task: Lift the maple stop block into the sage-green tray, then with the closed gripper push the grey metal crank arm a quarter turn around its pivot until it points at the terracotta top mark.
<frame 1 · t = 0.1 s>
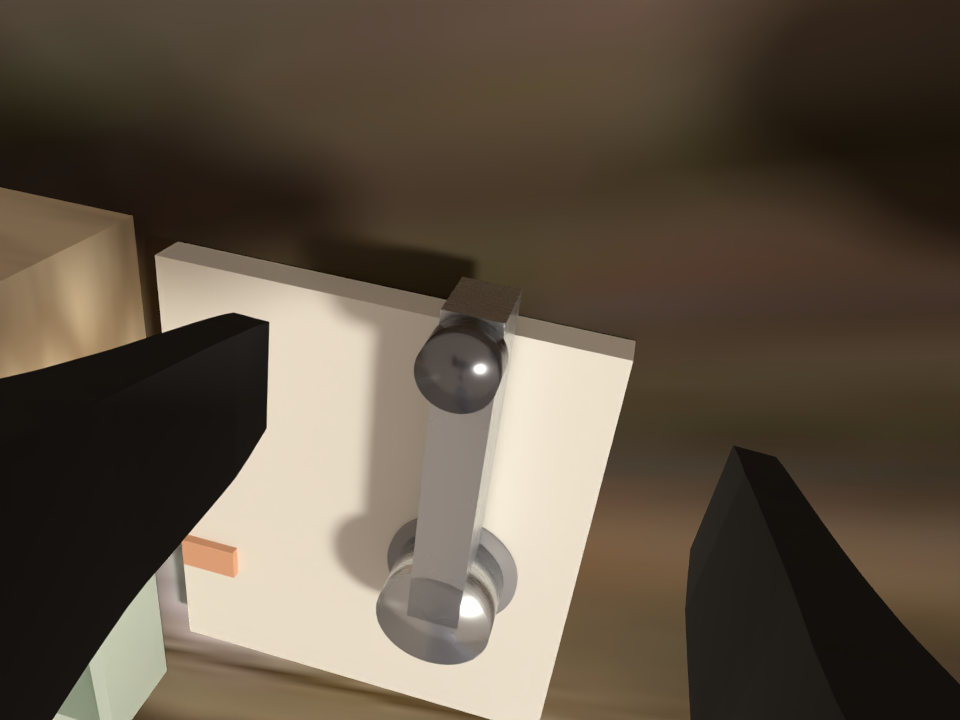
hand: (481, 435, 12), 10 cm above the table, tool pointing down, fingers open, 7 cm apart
crank arm: (450, 503, 22), point 3 cm above the table, hinge at 0.0°
crank board: (380, 499, 26), on the table
tray: (54, 564, 32), on the table
stop block: (72, 273, 25), on the table
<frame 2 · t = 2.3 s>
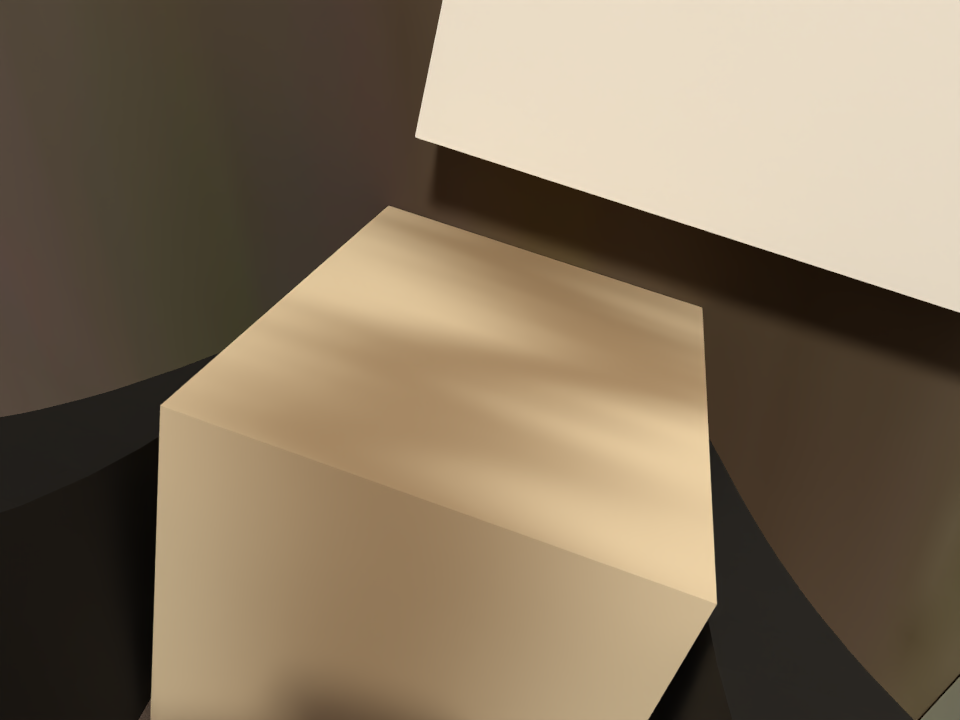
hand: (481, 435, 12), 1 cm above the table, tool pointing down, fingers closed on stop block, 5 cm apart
stop block: (501, 389, 13), on the table, touching gripper
when the fingers open (3 cm above the table, at t = 7.1 s): stop block drops 1 cm, resting on tray.
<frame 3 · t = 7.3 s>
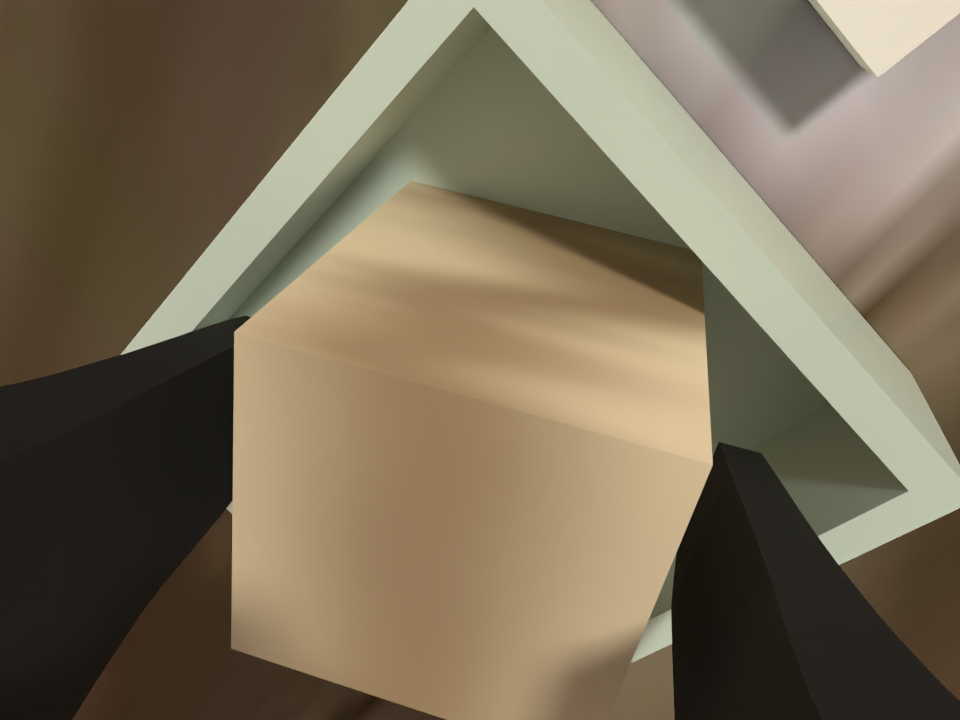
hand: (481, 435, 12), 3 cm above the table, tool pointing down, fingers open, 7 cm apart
tray: (522, 337, 15), on the table
stop block: (523, 343, 14), resting on tray
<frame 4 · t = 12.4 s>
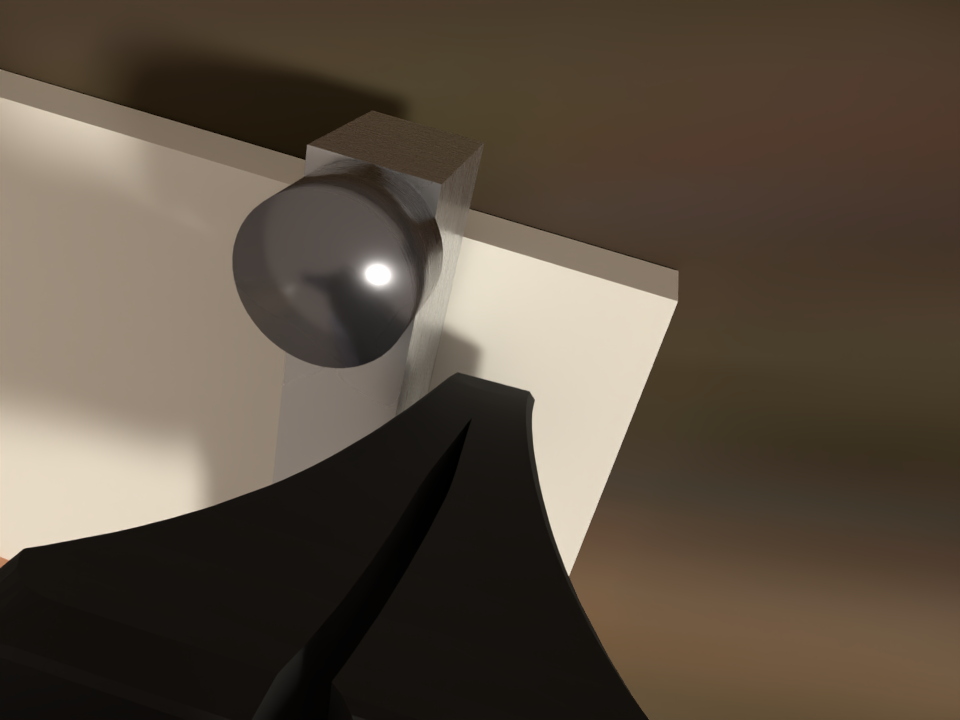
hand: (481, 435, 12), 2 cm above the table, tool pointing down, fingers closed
crank arm: (327, 534, 12), point 3 cm above the table, hinge at 0.0°, touching gripper
crank board: (239, 505, 17), on the table
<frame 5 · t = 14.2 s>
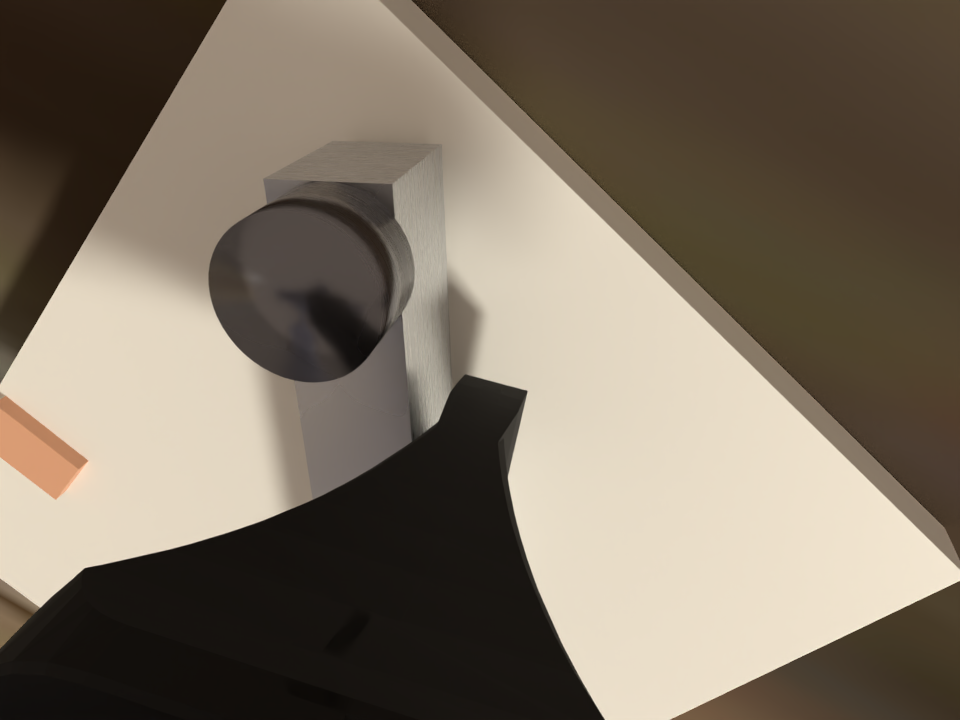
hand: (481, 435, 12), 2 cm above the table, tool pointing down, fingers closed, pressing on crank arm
crank arm: (382, 560, 12), point 3 cm above the table, hinge at 42.7°, touching gripper
crank board: (369, 504, 16), on the table
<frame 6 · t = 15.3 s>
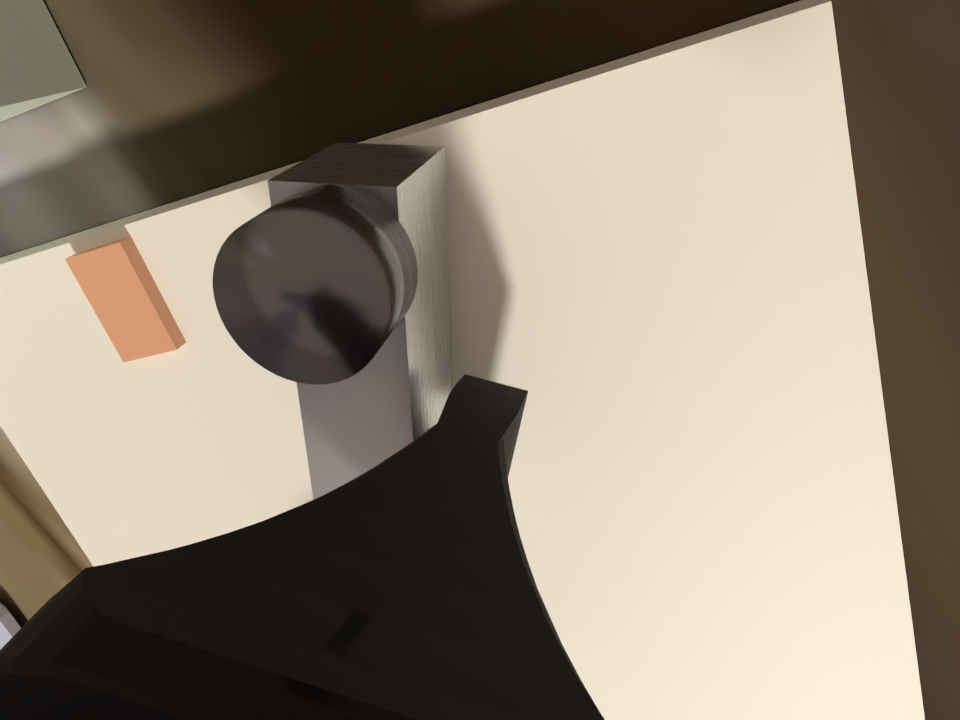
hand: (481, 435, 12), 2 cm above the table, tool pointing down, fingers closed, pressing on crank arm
crank arm: (382, 560, 12), point 3 cm above the table, hinge at 72.1°, touching gripper
crank board: (439, 498, 15), on the table
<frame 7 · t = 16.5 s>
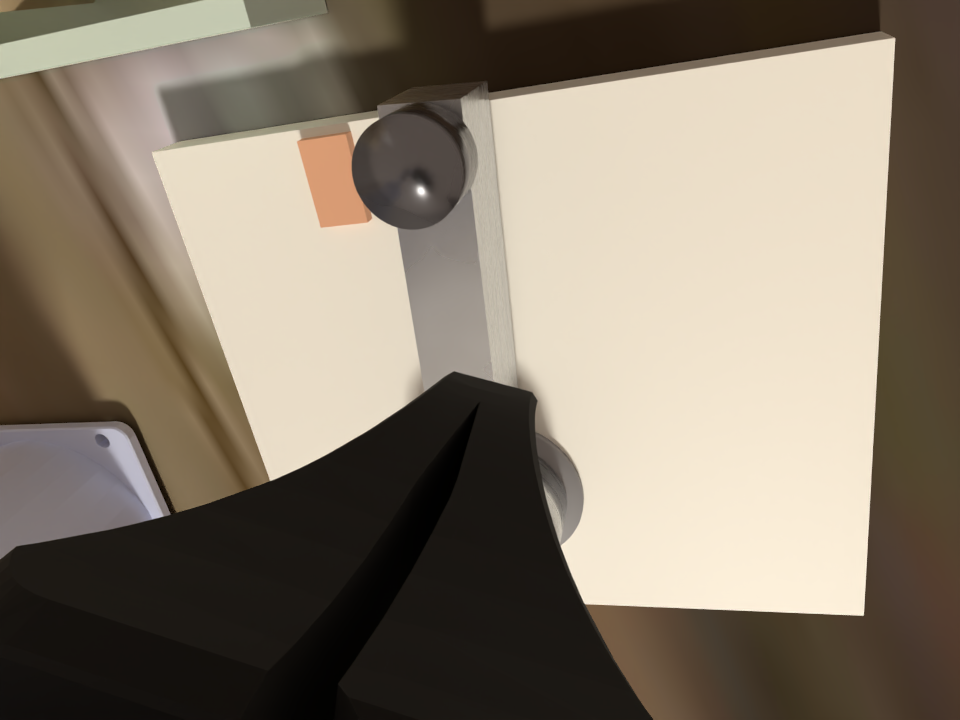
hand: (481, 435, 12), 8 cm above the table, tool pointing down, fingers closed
crank arm: (464, 385, 17), point 3 cm above the table, hinge at 86.1°
crank board: (529, 369, 20), on the table
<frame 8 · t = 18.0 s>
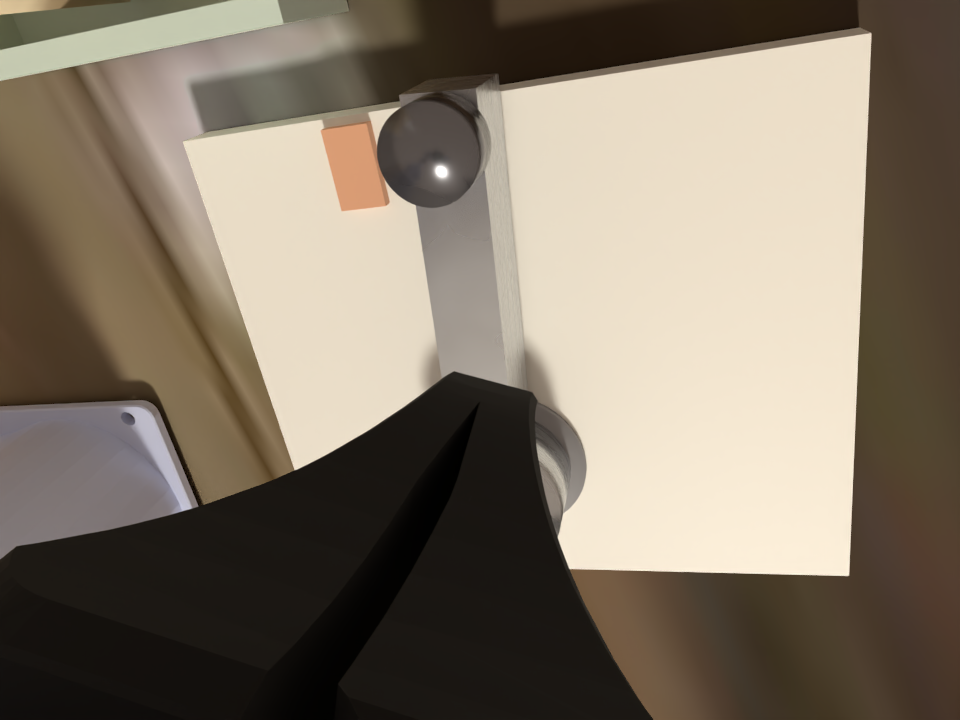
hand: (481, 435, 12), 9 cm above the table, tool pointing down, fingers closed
crank arm: (476, 357, 18), point 3 cm above the table, hinge at 86.1°
crank board: (535, 346, 21), on the table
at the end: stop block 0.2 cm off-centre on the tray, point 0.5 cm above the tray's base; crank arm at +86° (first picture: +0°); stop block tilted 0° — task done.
